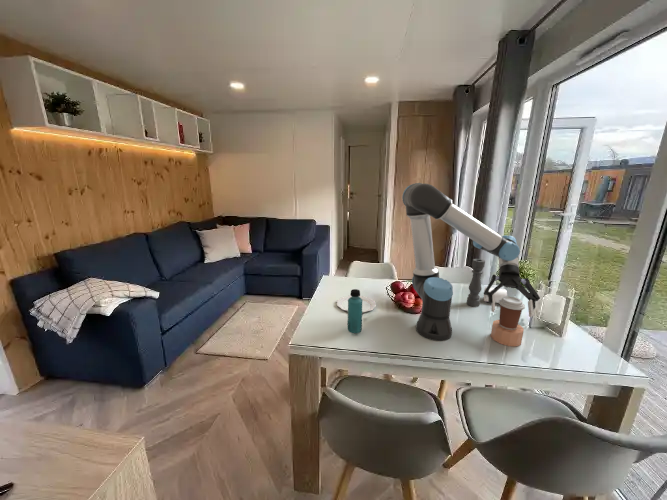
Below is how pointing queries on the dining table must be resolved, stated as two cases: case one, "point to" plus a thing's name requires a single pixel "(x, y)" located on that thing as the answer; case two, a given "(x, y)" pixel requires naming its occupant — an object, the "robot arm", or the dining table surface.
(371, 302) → the plate
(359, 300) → the beverage bottle
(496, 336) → the terracotta bowl
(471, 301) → the candle holder
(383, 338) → the dining table surface
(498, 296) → the mug
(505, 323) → the coffee cup
